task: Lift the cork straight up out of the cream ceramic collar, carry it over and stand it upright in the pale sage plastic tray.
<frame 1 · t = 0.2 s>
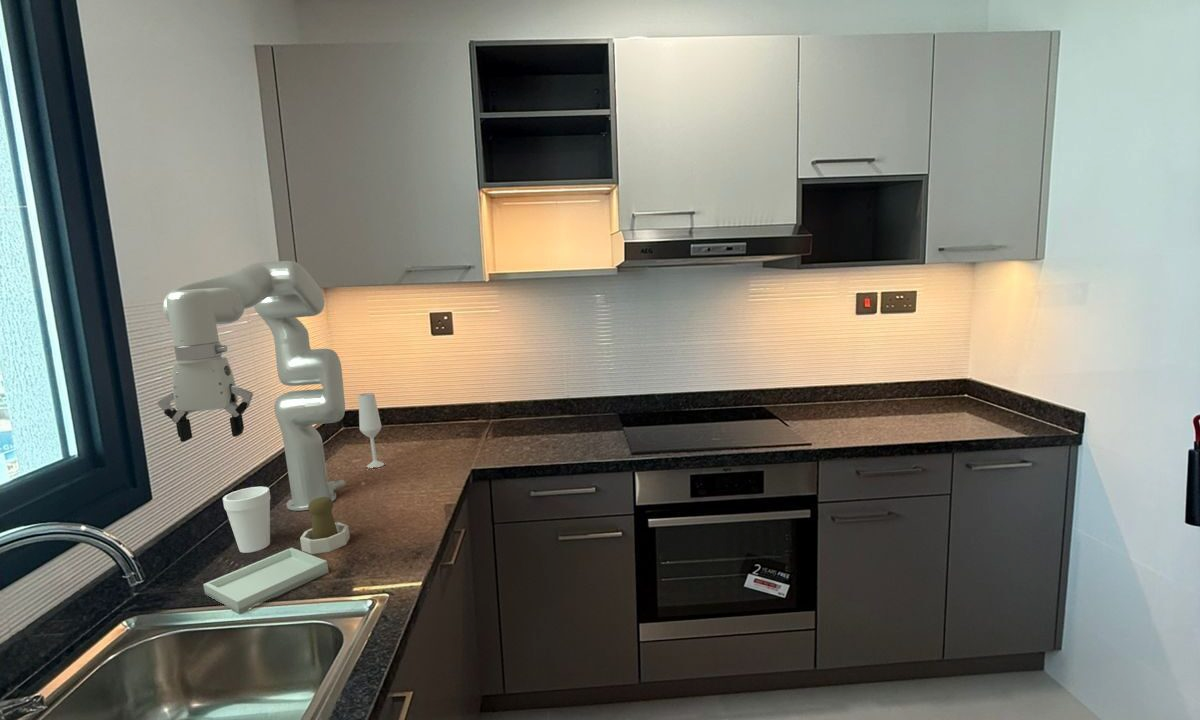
hand: (212, 437, 125), 31 cm above the worktop, tool pointing down, fingers open, 9 cm apart
foam cup: (254, 547, 146), on the worktop
collar: (326, 543, 145), on the worktop
champagne flute: (375, 466, 204), on the worktop
tray: (268, 583, 127), on the worktop
cork: (326, 544, 145), resting in collar
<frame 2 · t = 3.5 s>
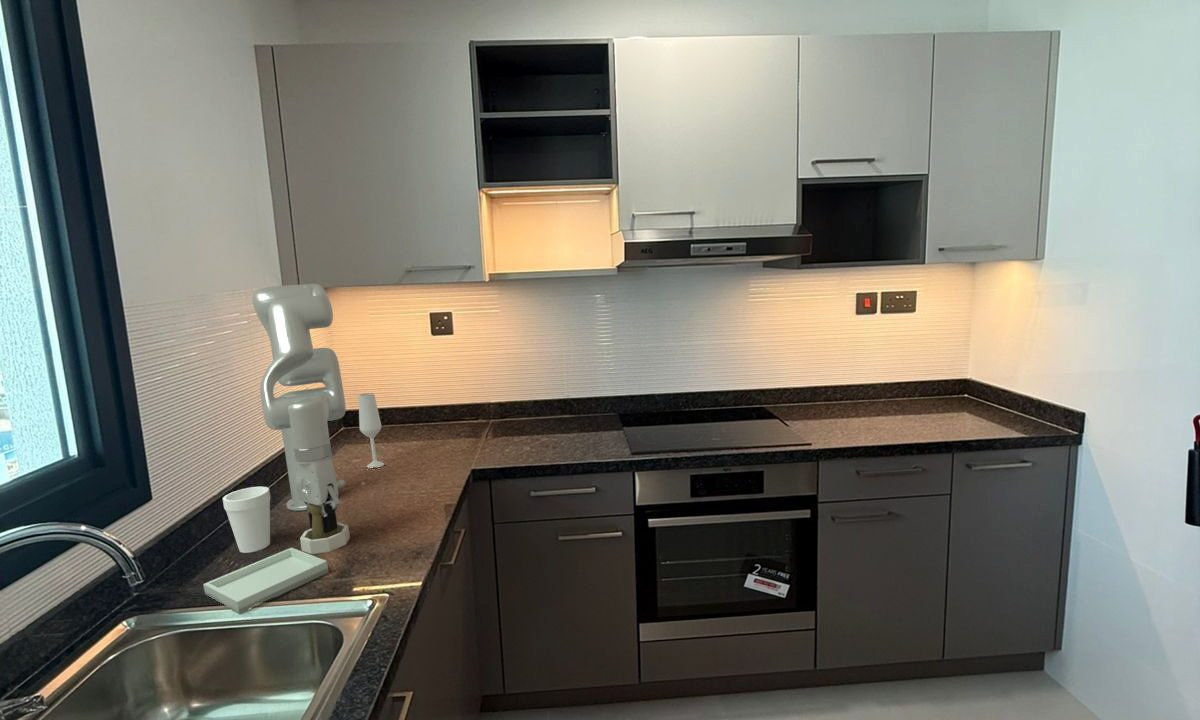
hand: (324, 528, 144), 4 cm above the worktop, tool pointing down, fingers closed on cork, 4 cm apart
cork: (326, 544, 145), resting in collar, touching gripper
everything else where it was.
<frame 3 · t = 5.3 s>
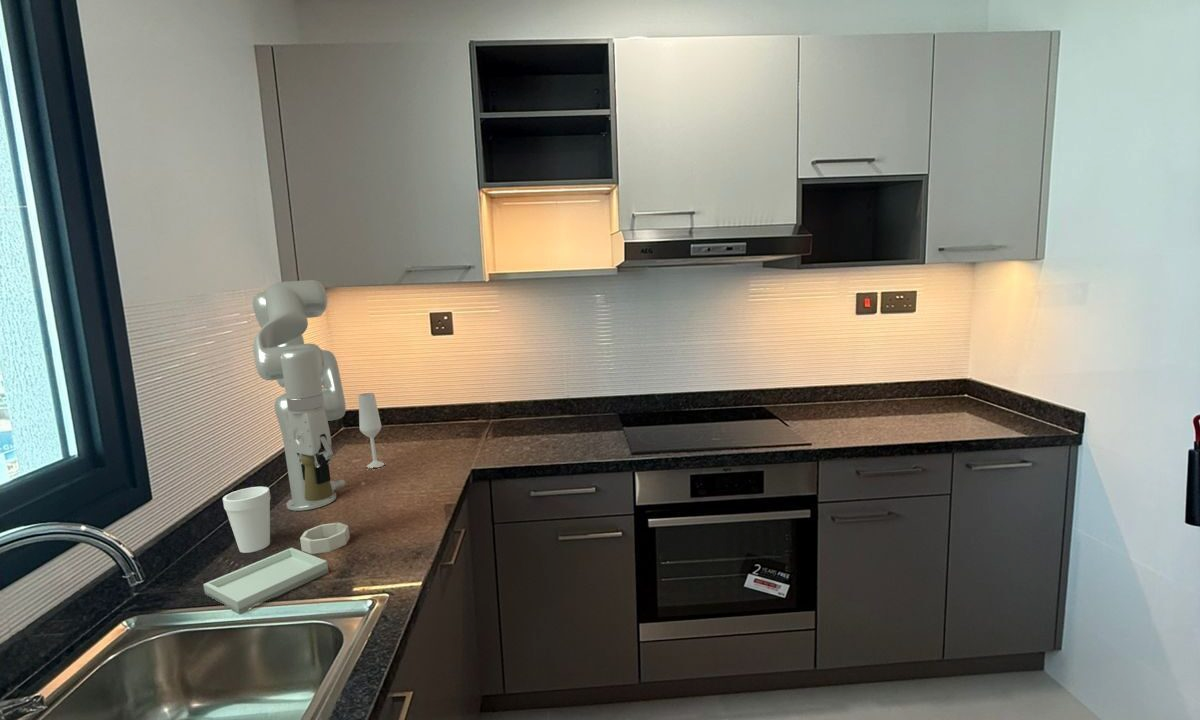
hand: (316, 479, 143), 15 cm above the worktop, tool pointing down, fingers closed on cork, 4 cm apart
cork: (319, 496, 144), point 11 cm above the worktop, touching gripper
everything else where it was.
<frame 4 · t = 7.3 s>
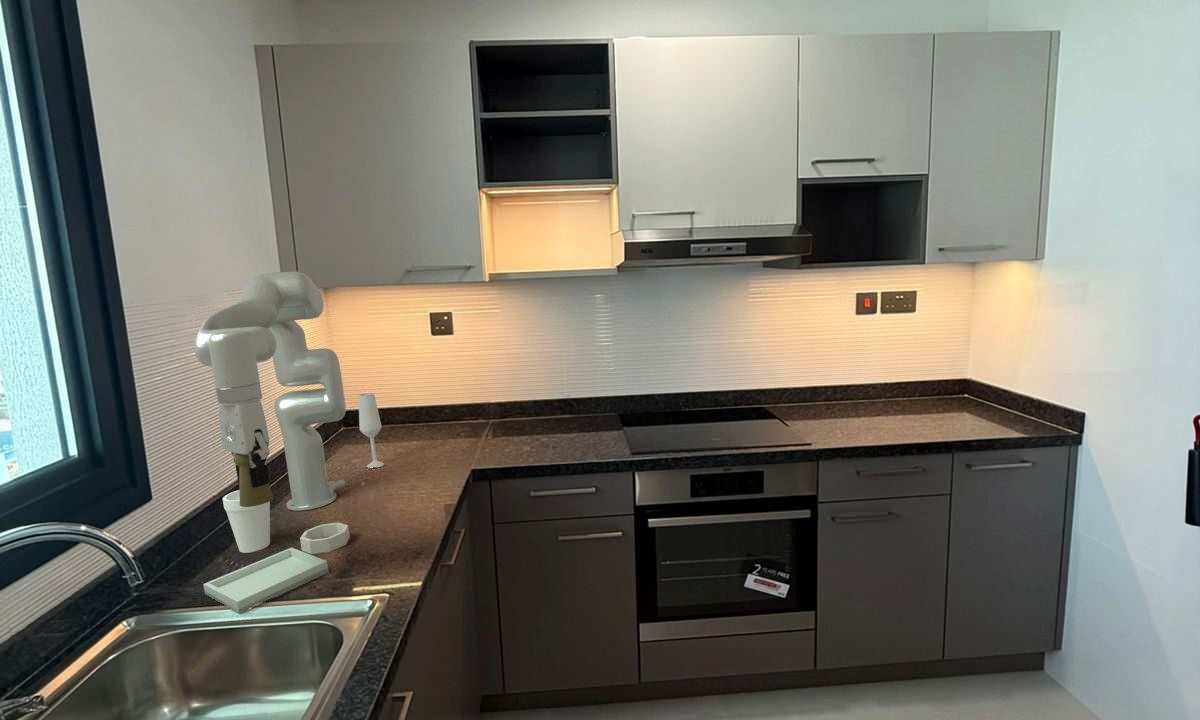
hand: (253, 482, 124), 21 cm above the worktop, tool pointing down, fingers closed on cork, 4 cm apart
cork: (257, 502, 125), point 17 cm above the worktop, touching gripper
everything else where it was.
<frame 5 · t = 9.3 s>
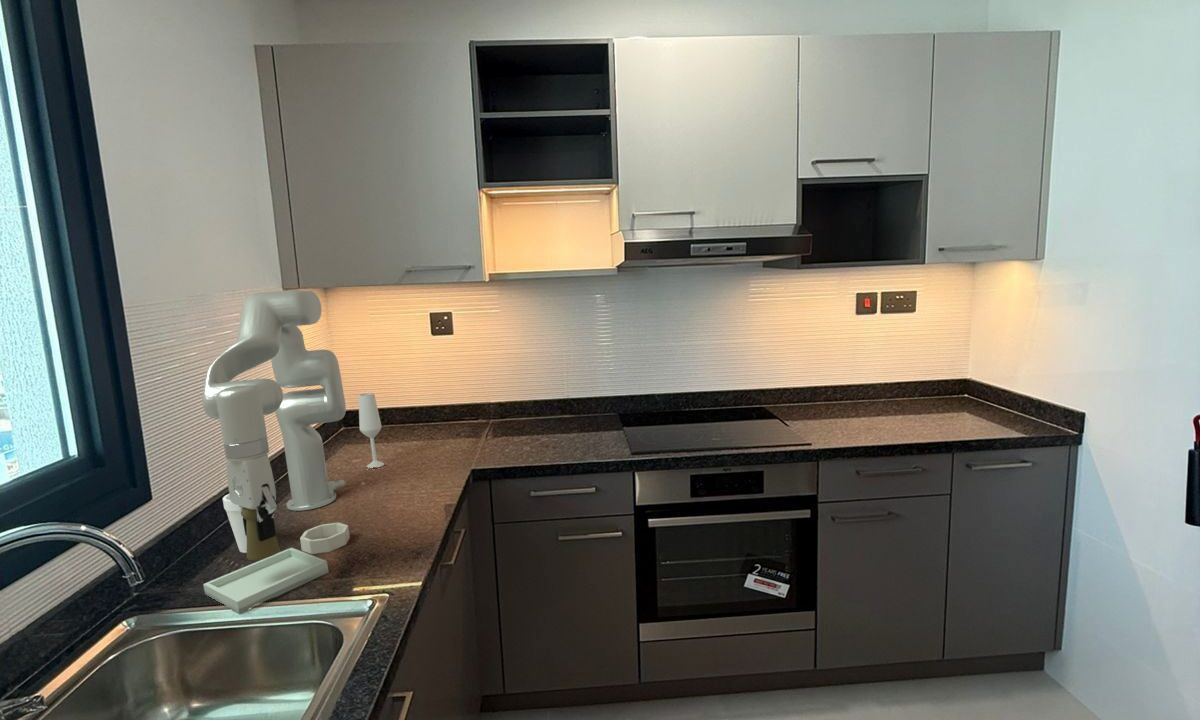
hand: (260, 535, 125), 11 cm above the worktop, tool pointing down, fingers closed on cork, 4 cm apart
cork: (263, 554, 126), point 6 cm above the worktop, touching gripper
everything else where it was.
when the fingers open (6 cm above the worktop, at t = 11.1 s): cork stays where it is, resting on tray.
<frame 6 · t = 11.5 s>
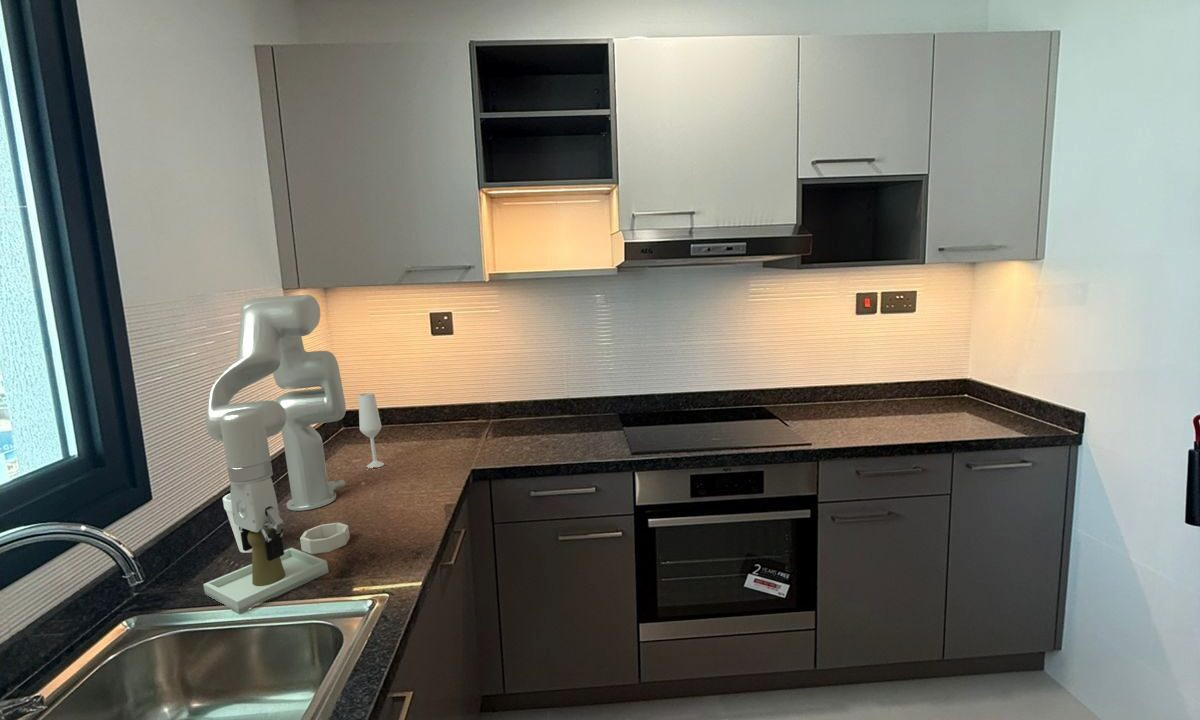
hand: (263, 552, 126), 7 cm above the worktop, tool pointing down, fingers open, 9 cm apart
cork: (269, 579, 127), point 1 cm above the worktop, touching tray
everything else where it was.
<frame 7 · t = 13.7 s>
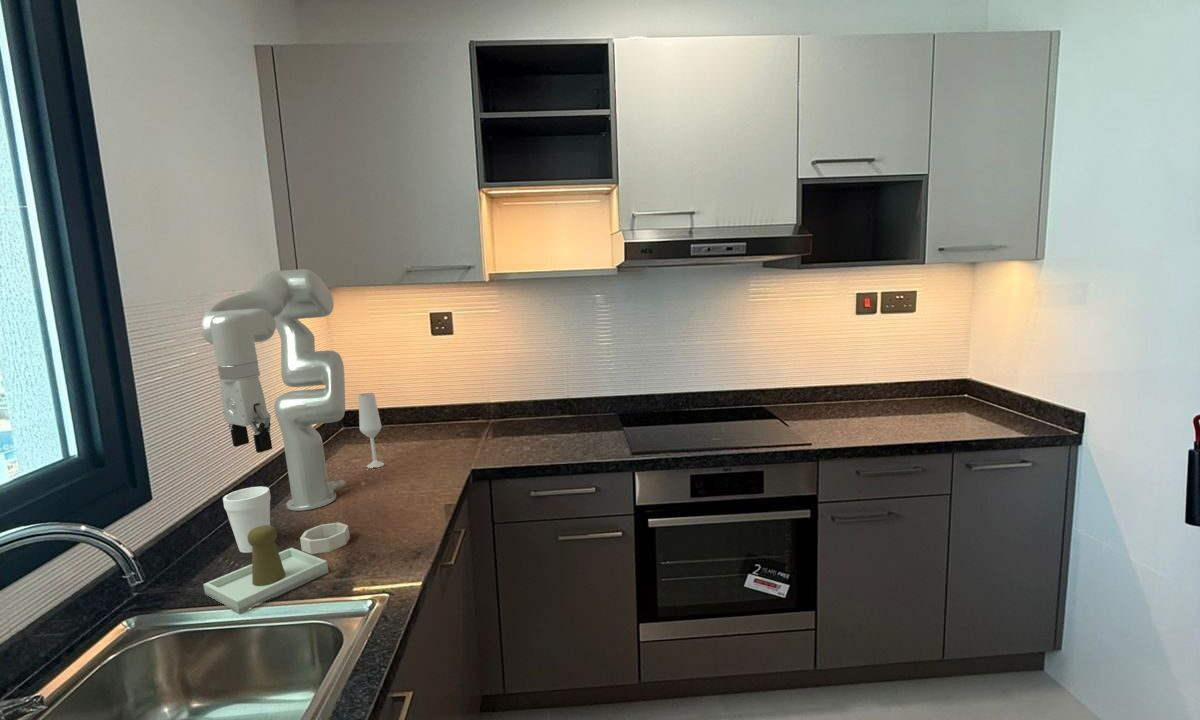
hand: (252, 447, 136), 25 cm above the worktop, tool pointing down, fingers open, 9 cm apart
nothing on the worktop moved.
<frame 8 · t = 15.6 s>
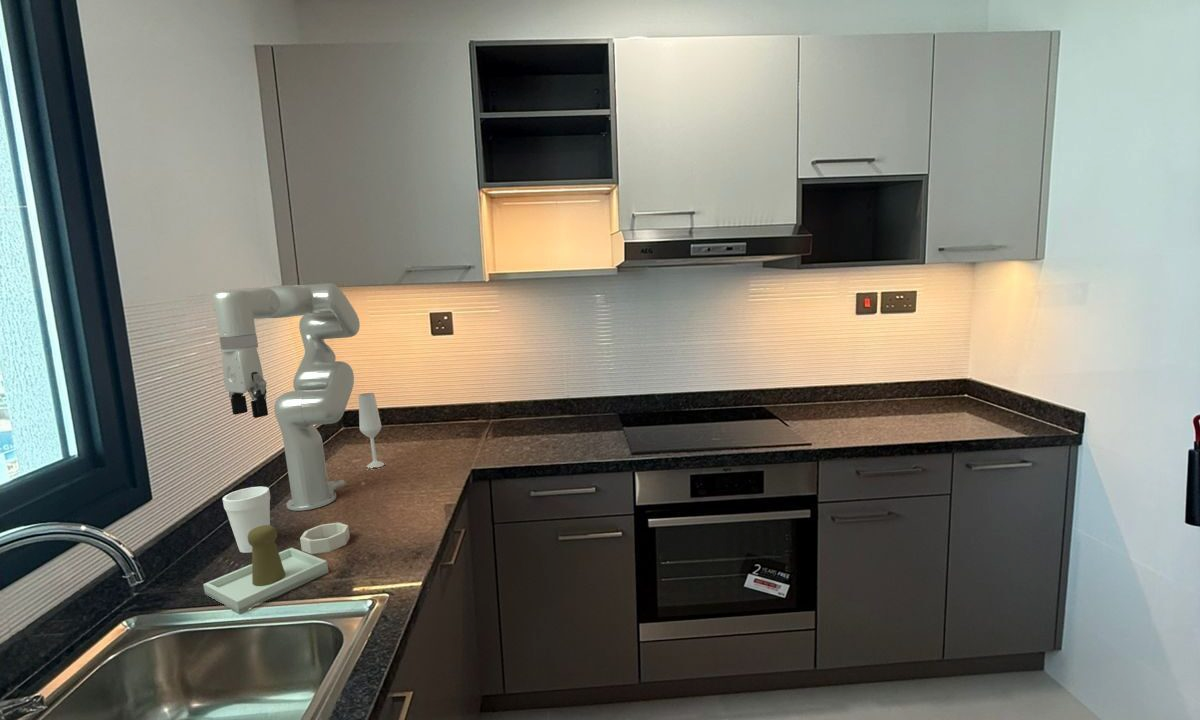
hand: (250, 414, 147), 30 cm above the worktop, tool pointing down, fingers open, 9 cm apart
nothing on the worktop moved.
at the end: cork inside the target area on the tray (0.3 cm from its centre), point 0.8 cm above the tray's base; cork tilted 0°; the gripper is holding nothing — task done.
